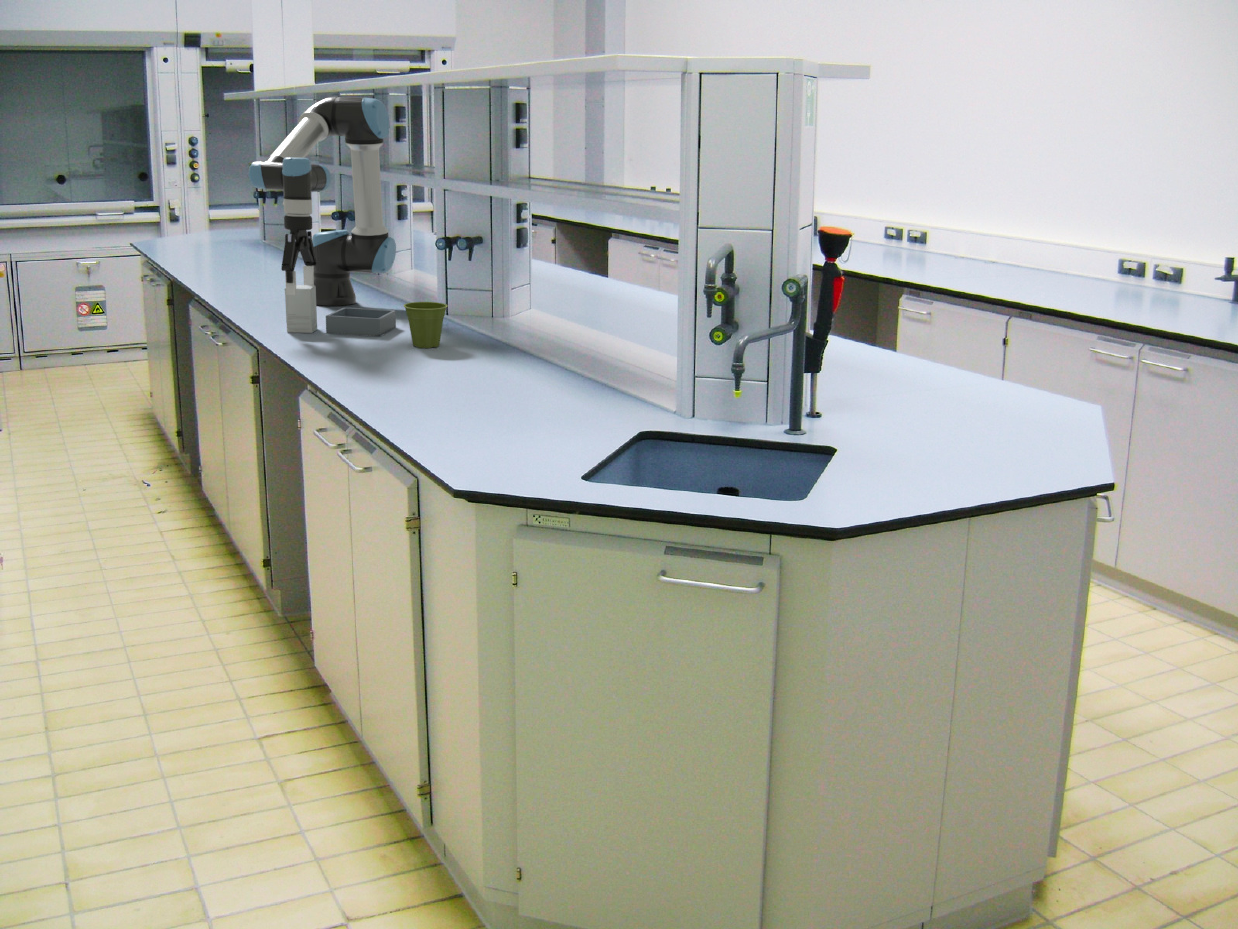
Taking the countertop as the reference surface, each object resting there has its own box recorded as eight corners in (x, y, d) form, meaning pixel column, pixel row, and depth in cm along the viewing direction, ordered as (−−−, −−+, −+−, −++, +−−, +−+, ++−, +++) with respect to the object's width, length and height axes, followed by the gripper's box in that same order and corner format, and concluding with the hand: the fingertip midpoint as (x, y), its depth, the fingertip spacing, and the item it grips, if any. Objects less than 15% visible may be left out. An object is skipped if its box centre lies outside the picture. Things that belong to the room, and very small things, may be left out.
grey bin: (344, 324, 347) (343, 307, 345) (395, 327, 345) (395, 310, 344) (326, 333, 332) (325, 315, 330) (379, 336, 330) (379, 319, 329)
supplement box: (318, 329, 338) (316, 285, 334) (312, 333, 331) (311, 288, 327) (292, 328, 338) (290, 284, 334) (285, 332, 330) (284, 287, 327)
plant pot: (400, 342, 323) (399, 301, 320) (442, 341, 327) (442, 301, 324) (408, 350, 313) (407, 308, 310) (452, 349, 317) (452, 308, 314)
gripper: (301, 211, 337) (303, 285, 343) (267, 216, 313) (270, 296, 319) (326, 212, 337) (328, 287, 342) (294, 218, 313) (296, 298, 318)
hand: (300, 291), depth 331 cm, fingers open, 13 cm apart
